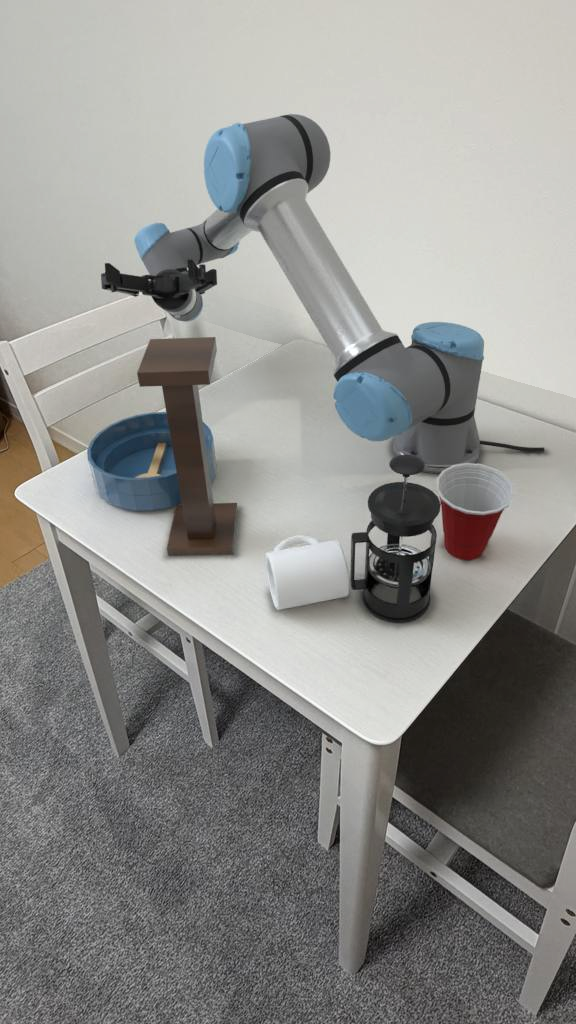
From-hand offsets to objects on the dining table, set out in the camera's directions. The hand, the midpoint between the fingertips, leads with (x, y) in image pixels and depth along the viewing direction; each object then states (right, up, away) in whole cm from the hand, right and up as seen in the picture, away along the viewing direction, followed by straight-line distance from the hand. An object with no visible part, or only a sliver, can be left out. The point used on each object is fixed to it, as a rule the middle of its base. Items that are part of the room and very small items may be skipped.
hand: (148, 269), depth 111 cm
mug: (+25, -50, -13) cm, 58 cm away
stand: (+9, -43, -3) cm, 44 cm away
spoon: (-1, -33, +9) cm, 34 cm away
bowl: (-1, -33, +9) cm, 35 cm away
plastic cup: (+49, -45, -8) cm, 67 cm away
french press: (+37, -52, -16) cm, 66 cm away
